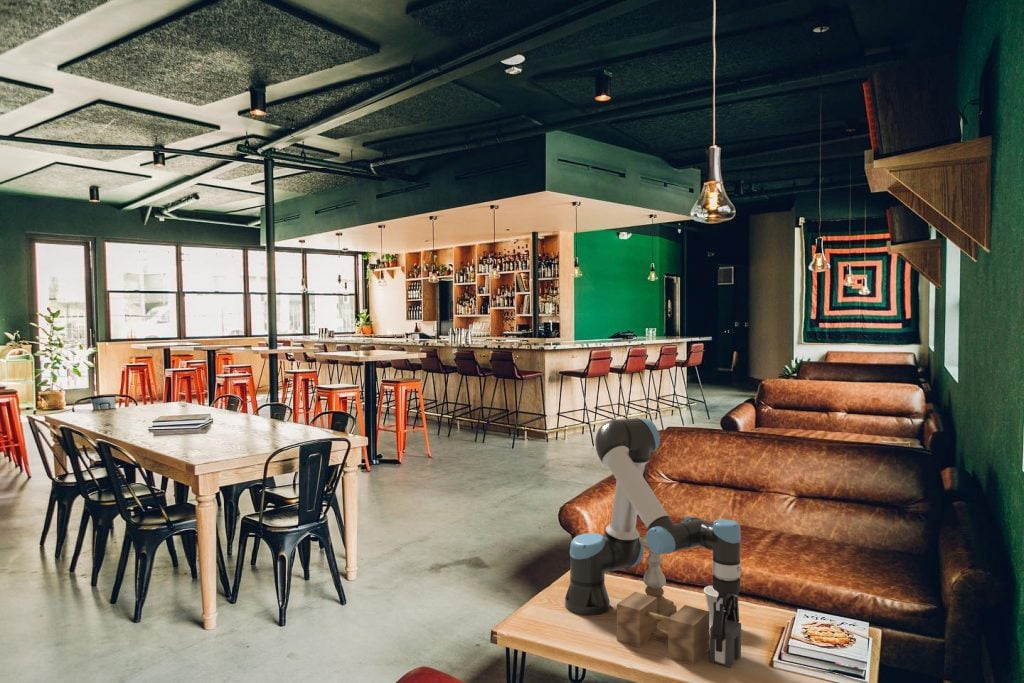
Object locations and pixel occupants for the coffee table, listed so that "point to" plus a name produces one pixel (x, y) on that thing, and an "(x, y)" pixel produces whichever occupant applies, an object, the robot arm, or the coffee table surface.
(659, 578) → the candle holder
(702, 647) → the wooden block dumbbell
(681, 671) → the coffee table surface
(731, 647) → the slotted gray cube
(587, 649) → the coffee table surface
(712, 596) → the cup
